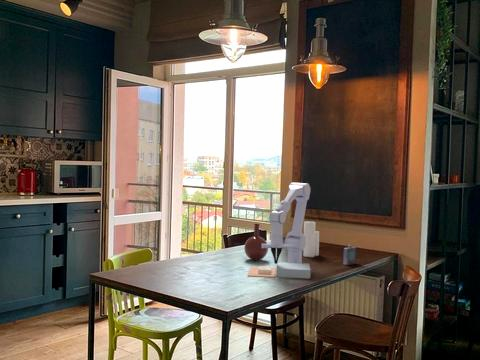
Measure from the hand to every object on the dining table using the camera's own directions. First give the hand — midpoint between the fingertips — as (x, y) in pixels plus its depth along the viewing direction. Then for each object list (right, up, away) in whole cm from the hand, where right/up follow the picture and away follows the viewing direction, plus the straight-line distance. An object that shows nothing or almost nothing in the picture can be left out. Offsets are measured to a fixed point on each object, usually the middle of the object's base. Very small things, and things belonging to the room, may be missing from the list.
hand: (276, 263), depth 235 cm
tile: (-6, -2, 0) cm, 6 cm away
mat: (-7, -5, +1) cm, 8 cm away
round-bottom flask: (-9, -4, +31) cm, 33 cm away
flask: (+42, -5, +27) cm, 50 cm away
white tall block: (+24, -4, +49) cm, 55 cm away
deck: (+8, -5, -1) cm, 10 cm away
